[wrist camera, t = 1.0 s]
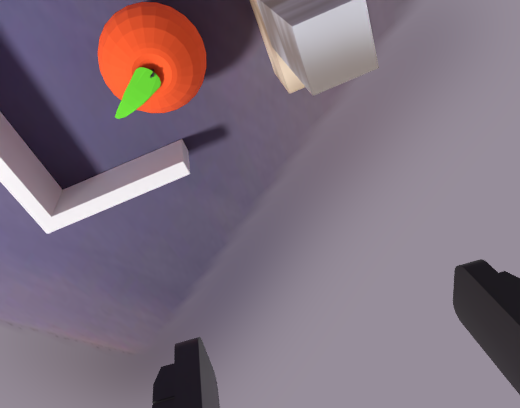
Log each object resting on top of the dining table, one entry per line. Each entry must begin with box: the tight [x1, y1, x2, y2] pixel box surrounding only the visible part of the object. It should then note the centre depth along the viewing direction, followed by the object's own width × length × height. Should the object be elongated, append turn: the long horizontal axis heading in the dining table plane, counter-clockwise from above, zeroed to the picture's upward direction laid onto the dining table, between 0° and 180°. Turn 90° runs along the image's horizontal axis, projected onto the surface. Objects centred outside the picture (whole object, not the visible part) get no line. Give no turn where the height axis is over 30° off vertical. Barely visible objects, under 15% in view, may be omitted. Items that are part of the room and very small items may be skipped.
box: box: [0, 112, 190, 234], centre depth 29 cm, size 16×12×4 cm
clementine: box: [98, 2, 207, 119], centre depth 28 cm, size 8×7×7 cm
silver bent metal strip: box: [250, 0, 379, 96], centre depth 24 cm, size 10×3×14 cm, turn 20°
